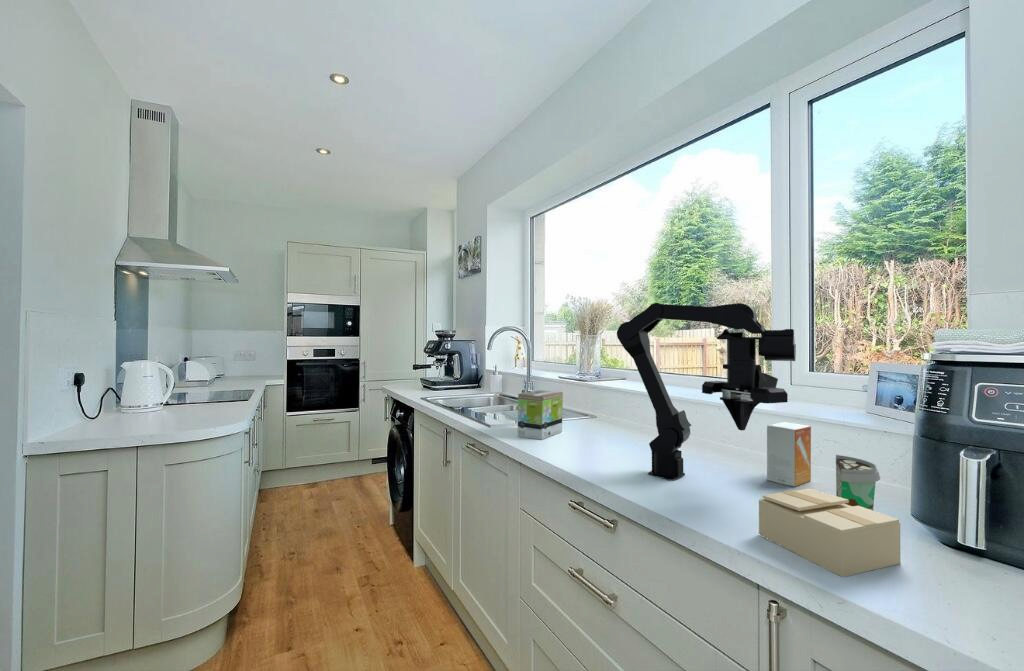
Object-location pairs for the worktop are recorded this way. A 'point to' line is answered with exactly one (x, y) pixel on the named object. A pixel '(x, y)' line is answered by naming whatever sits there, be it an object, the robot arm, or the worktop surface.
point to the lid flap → (805, 499)
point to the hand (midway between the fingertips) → (741, 430)
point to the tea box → (540, 414)
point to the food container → (856, 481)
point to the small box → (789, 453)
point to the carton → (834, 535)
